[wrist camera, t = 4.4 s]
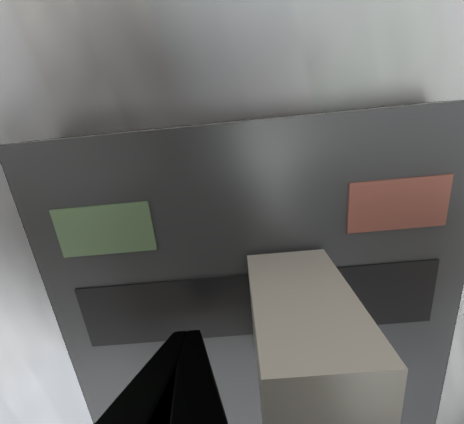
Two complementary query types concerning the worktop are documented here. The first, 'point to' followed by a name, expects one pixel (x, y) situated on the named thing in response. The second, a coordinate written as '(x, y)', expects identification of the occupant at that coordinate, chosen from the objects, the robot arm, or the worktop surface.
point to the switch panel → (246, 237)
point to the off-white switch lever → (319, 346)
